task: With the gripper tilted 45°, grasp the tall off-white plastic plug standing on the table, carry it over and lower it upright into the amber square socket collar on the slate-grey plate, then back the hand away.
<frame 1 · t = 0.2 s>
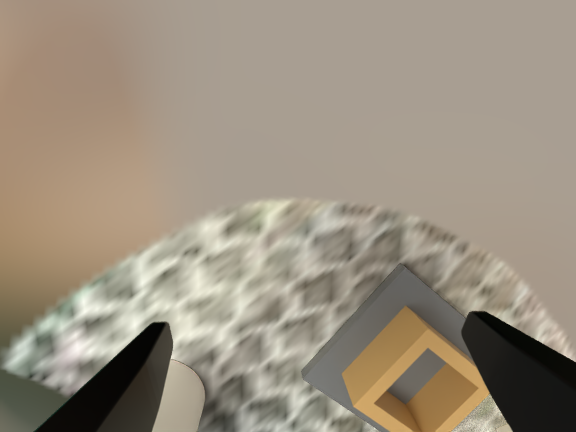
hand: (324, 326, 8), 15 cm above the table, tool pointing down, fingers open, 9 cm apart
socket plate: (400, 357, 27), on the table
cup: (161, 394, 26), on the table
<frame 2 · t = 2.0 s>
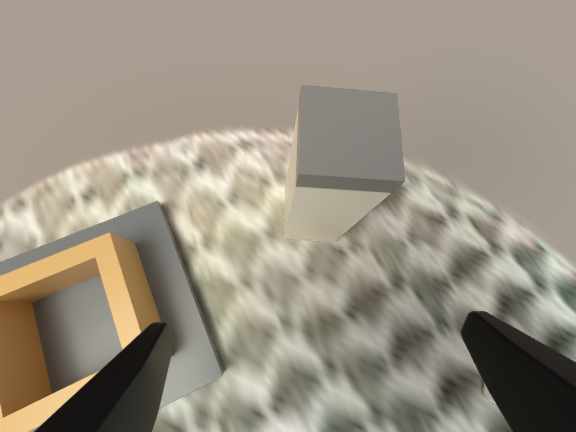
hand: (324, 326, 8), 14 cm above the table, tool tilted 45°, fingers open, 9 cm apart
socket plate: (99, 323, 20), on the table
plug: (309, 215, 24), on the table
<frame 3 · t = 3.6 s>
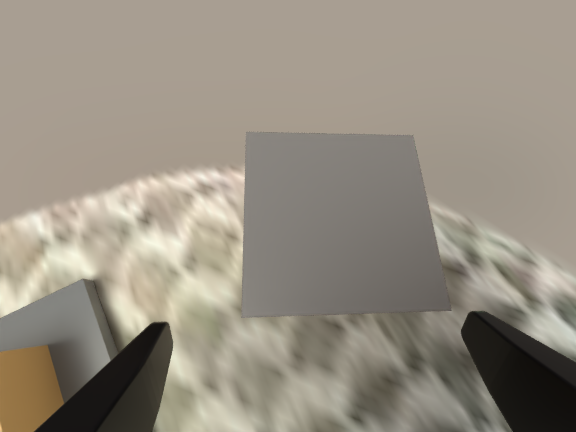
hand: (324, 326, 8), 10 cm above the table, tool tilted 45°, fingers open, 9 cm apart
plug: (291, 278, 18), on the table
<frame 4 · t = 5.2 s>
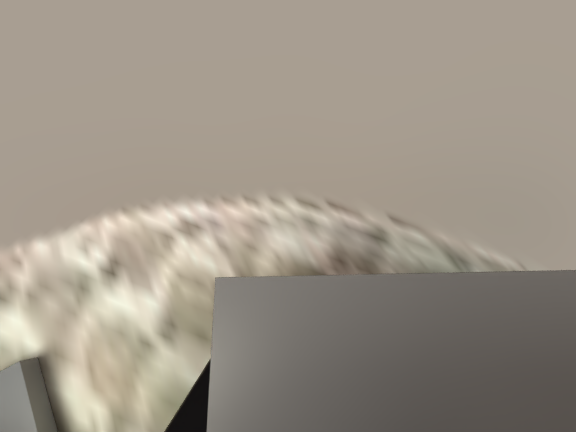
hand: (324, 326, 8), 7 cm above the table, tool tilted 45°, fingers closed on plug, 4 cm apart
plug: (300, 349, 14), on the table, touching gripper
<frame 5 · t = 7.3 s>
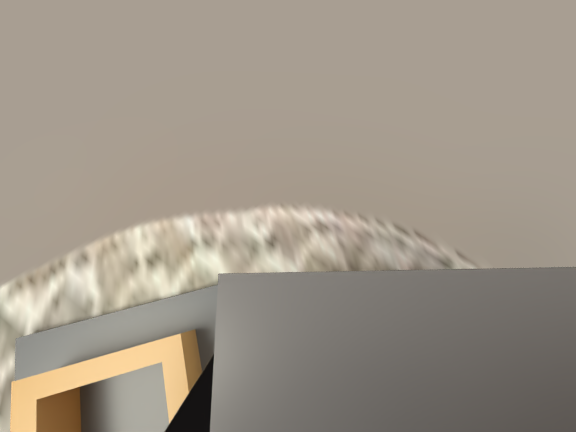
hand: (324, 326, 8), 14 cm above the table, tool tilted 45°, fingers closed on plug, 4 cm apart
socket plate: (142, 416, 18), on the table
plug: (300, 348, 14), point 7 cm above the table, touching gripper
when the fingers open (9 cm above the table, at t = 9.6 s): plug drops 2 cm, resting on socket plate.
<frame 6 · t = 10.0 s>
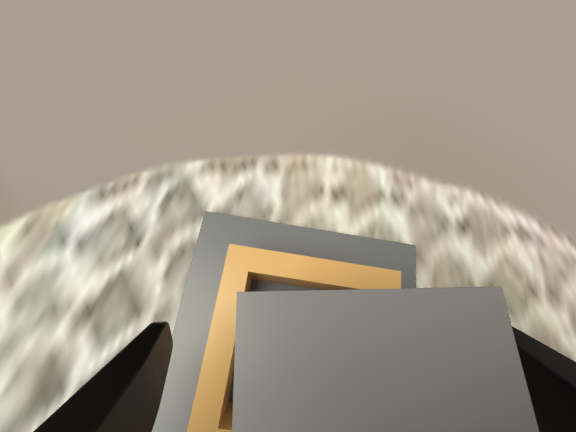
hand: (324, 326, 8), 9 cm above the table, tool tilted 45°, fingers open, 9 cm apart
socket plate: (295, 342, 16), on the table
plug: (297, 342, 16), point 1 cm above the table, touching socket plate
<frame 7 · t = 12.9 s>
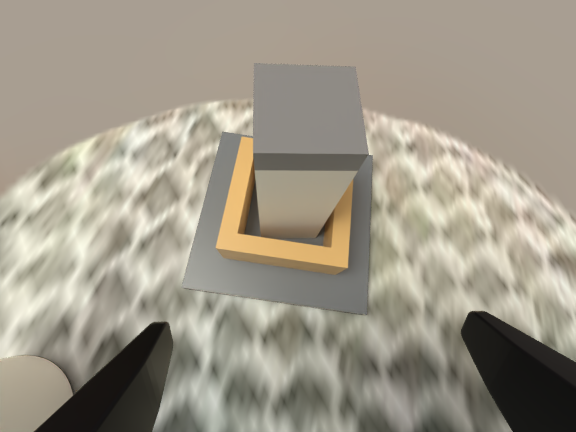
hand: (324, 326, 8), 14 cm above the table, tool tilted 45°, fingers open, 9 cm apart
socket plate: (286, 218, 24), on the table
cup: (8, 424, 18), on the table
plug: (287, 212, 23), point 1 cm above the table, touching socket plate
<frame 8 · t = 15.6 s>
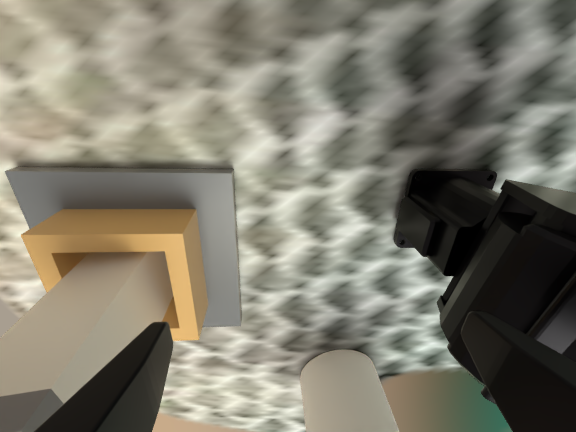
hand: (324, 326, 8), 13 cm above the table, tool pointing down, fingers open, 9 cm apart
socket plate: (148, 254, 22), on the table
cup: (336, 373, 30), on the table
plug: (142, 262, 21), point 1 cm above the table, touching socket plate
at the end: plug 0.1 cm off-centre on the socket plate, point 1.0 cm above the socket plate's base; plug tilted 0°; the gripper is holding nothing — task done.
